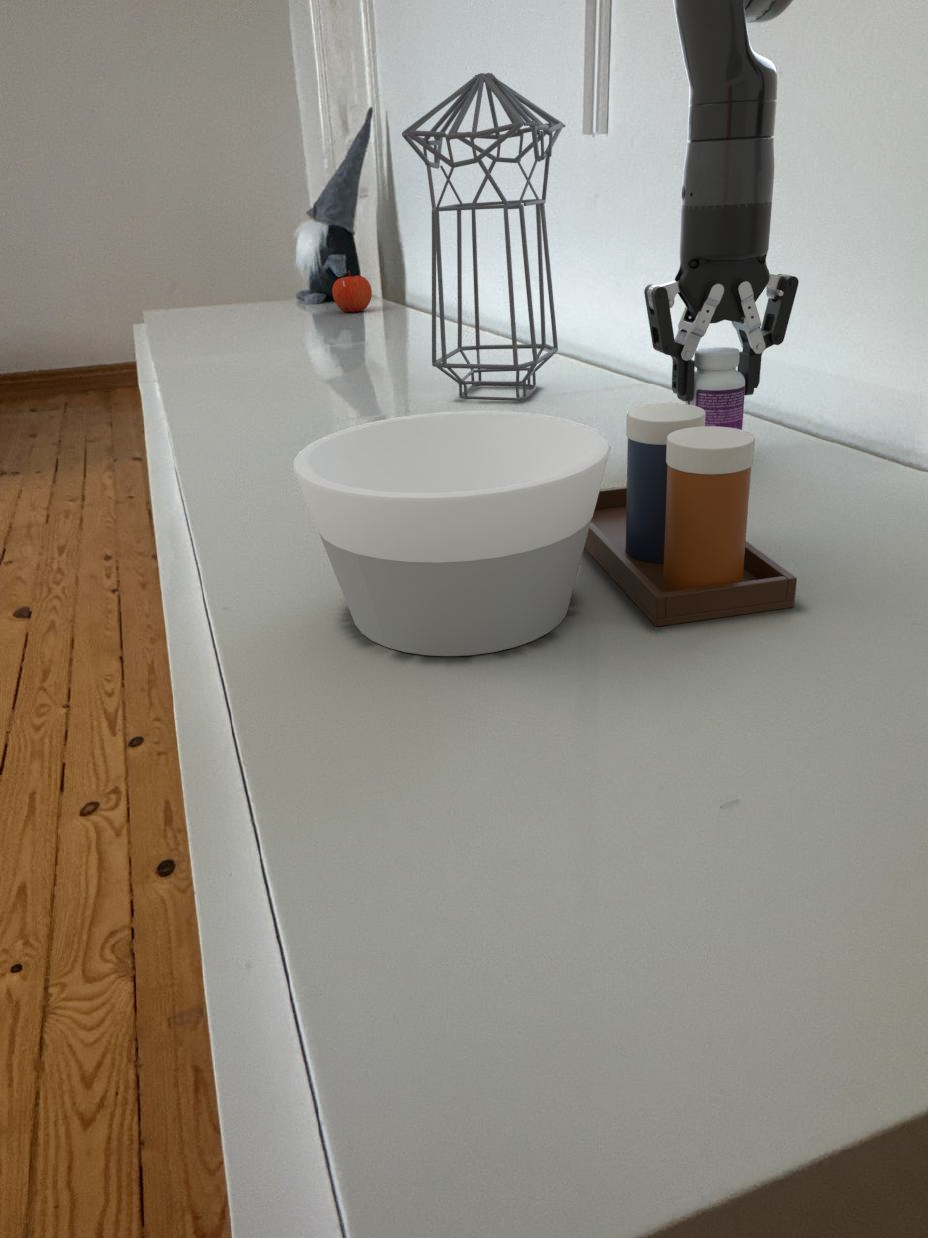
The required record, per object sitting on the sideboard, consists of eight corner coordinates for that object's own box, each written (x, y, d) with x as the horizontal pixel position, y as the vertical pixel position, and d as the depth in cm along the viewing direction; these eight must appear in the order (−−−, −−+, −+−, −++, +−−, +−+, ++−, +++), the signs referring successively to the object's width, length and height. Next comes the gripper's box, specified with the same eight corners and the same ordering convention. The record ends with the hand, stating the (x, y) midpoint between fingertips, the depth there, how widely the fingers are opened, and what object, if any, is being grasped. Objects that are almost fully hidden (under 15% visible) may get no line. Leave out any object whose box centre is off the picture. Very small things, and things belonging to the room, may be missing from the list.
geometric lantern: (542, 410, 111) (534, 61, 96) (415, 407, 116) (389, 75, 101) (572, 381, 124) (570, 71, 110) (457, 380, 129) (440, 82, 114)
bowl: (661, 642, 57) (668, 466, 53) (341, 704, 53) (318, 517, 48) (545, 538, 74) (542, 398, 69) (295, 578, 69) (274, 430, 65)
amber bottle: (721, 568, 66) (731, 422, 61) (757, 597, 61) (770, 442, 57) (649, 577, 65) (653, 430, 60) (680, 608, 60) (687, 452, 56)
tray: (664, 504, 79) (664, 481, 79) (794, 607, 61) (797, 577, 60) (556, 517, 78) (556, 494, 77) (656, 627, 59) (657, 597, 58)
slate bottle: (680, 533, 72) (686, 399, 68) (710, 558, 67) (718, 416, 63) (613, 542, 71) (615, 407, 67) (639, 568, 66) (643, 424, 62)
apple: (363, 314, 192) (359, 271, 189) (327, 314, 195) (322, 272, 192) (380, 308, 199) (376, 267, 196) (345, 308, 202) (341, 268, 198)
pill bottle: (753, 453, 91) (760, 348, 87) (713, 464, 89) (719, 357, 85) (709, 442, 95) (715, 342, 91) (671, 453, 93) (675, 350, 89)
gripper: (664, 205, 78) (657, 413, 85) (827, 194, 80) (807, 397, 88) (631, 202, 85) (627, 396, 92) (782, 192, 87) (767, 381, 94)
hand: (715, 395), depth 90 cm, fingers closed on pill bottle, 5 cm apart
